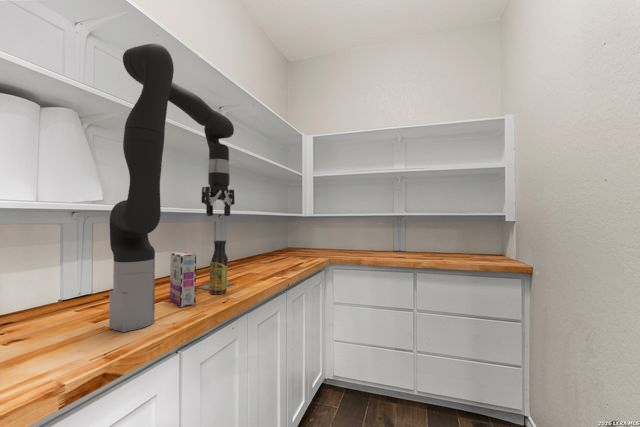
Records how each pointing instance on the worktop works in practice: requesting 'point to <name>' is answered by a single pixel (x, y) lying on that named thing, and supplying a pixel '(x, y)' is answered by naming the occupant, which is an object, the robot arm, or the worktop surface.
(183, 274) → the candy bar box
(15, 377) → the worktop surface
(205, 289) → the rubber mat
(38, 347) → the worktop surface
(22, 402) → the worktop surface
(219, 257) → the sauce bottle
